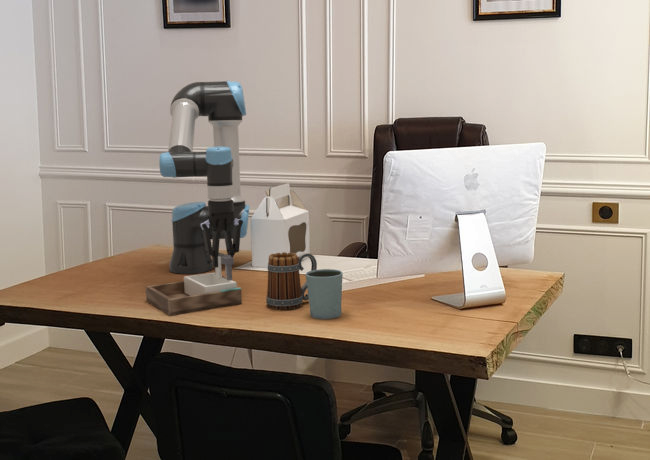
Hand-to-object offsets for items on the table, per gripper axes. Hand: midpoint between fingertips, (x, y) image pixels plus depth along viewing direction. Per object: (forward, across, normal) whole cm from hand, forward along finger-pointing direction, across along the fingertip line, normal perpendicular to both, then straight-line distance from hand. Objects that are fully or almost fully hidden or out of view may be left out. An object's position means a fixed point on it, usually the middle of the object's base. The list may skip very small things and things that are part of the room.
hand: (223, 276), depth 252 cm
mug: (+7, -13, +19) cm, 24 cm away
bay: (+7, +10, 0) cm, 12 cm away
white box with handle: (+5, +4, 0) cm, 7 cm away
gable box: (+7, -39, -37) cm, 54 cm away
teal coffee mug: (+7, -15, +34) cm, 38 cm away
